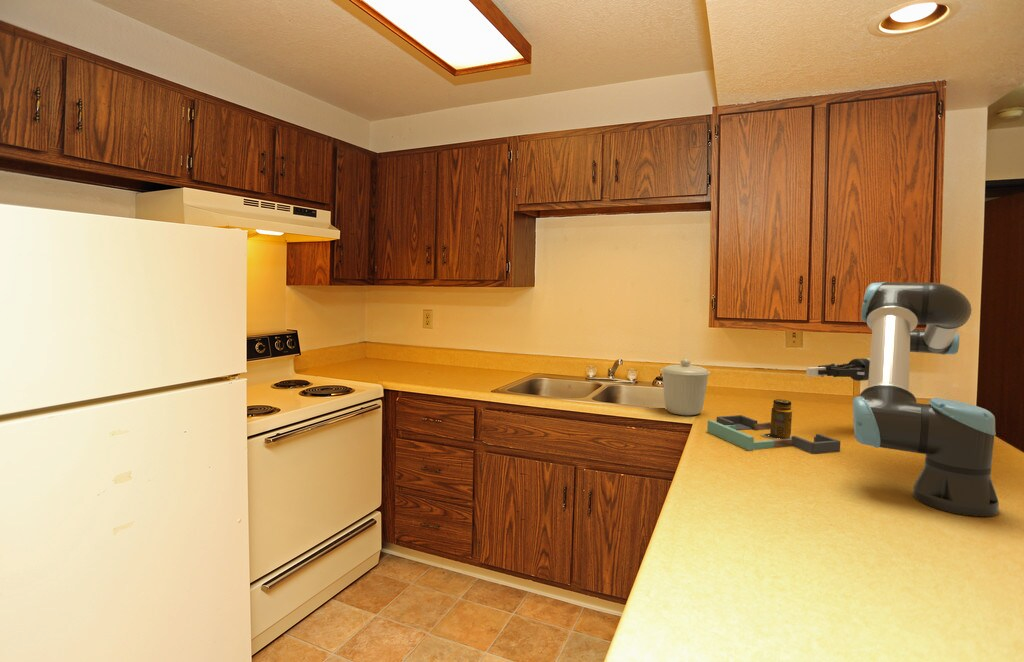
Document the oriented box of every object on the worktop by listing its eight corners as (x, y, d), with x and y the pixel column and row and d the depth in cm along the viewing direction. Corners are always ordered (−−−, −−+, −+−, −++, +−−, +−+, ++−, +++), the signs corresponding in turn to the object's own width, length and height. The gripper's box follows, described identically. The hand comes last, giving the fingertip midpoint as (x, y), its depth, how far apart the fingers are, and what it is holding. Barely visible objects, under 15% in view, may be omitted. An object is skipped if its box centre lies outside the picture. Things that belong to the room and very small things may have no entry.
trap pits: (759, 421, 194) (760, 413, 194) (840, 451, 161) (841, 441, 160) (715, 425, 189) (716, 416, 189) (789, 455, 156) (790, 445, 156)
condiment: (796, 437, 175) (798, 401, 174) (781, 441, 170) (784, 404, 169) (774, 432, 181) (776, 397, 180) (760, 436, 176) (762, 400, 175)
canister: (659, 416, 200) (661, 361, 198) (658, 405, 218) (660, 354, 216) (711, 420, 196) (713, 363, 194) (705, 408, 213) (707, 356, 211)
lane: (781, 426, 187) (782, 421, 187) (827, 443, 169) (827, 436, 169) (732, 430, 182) (733, 424, 182) (773, 447, 164) (774, 441, 163)
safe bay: (731, 430, 183) (732, 418, 182) (775, 448, 163) (776, 435, 163) (707, 431, 180) (707, 420, 180) (748, 450, 161) (749, 437, 160)
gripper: (881, 383, 176) (823, 387, 170) (847, 376, 189) (792, 379, 183) (883, 361, 176) (824, 363, 170) (849, 355, 188) (793, 358, 182)
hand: (808, 372), depth 176 cm, fingers closed
